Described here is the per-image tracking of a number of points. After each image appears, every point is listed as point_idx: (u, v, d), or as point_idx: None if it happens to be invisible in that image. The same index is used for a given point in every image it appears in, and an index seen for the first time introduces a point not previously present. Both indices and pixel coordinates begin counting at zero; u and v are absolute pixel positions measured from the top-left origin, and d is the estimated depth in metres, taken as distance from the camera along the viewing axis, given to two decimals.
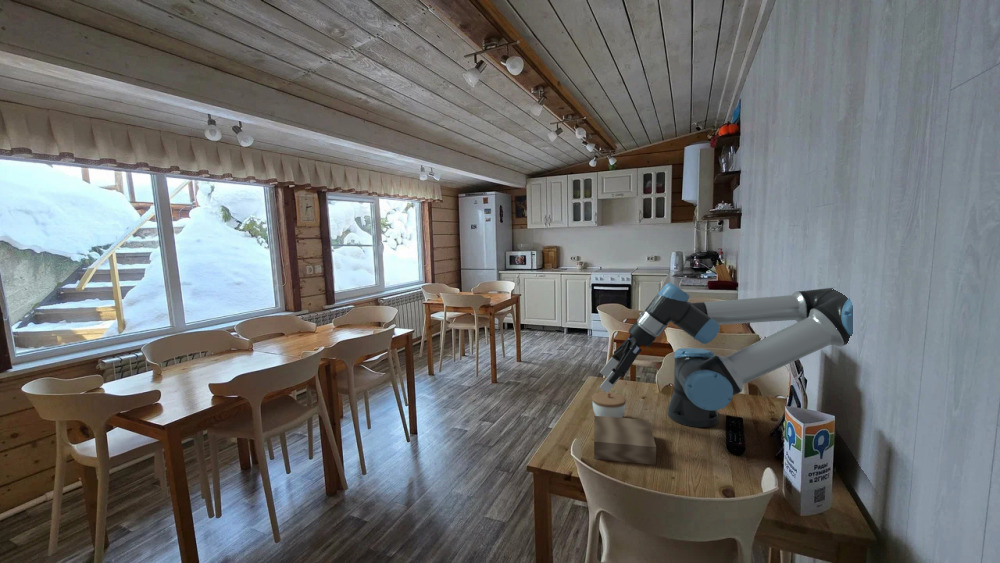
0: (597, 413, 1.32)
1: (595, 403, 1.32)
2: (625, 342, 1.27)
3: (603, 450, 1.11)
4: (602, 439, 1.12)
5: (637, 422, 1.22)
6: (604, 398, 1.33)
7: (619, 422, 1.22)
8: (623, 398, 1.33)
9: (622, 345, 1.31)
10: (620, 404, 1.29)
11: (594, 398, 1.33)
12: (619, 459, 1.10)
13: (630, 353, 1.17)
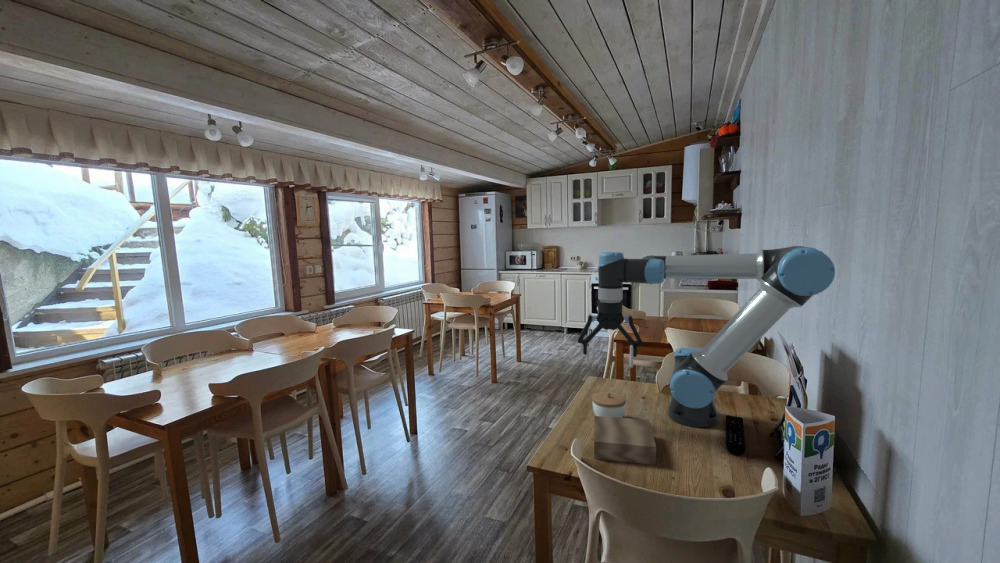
0: (597, 413, 1.32)
1: (595, 403, 1.32)
2: None
3: (603, 450, 1.11)
4: (602, 439, 1.12)
5: (637, 422, 1.22)
6: (604, 398, 1.33)
7: (619, 422, 1.22)
8: (623, 398, 1.33)
9: None
10: (620, 404, 1.29)
11: (594, 398, 1.33)
12: (619, 459, 1.10)
13: None
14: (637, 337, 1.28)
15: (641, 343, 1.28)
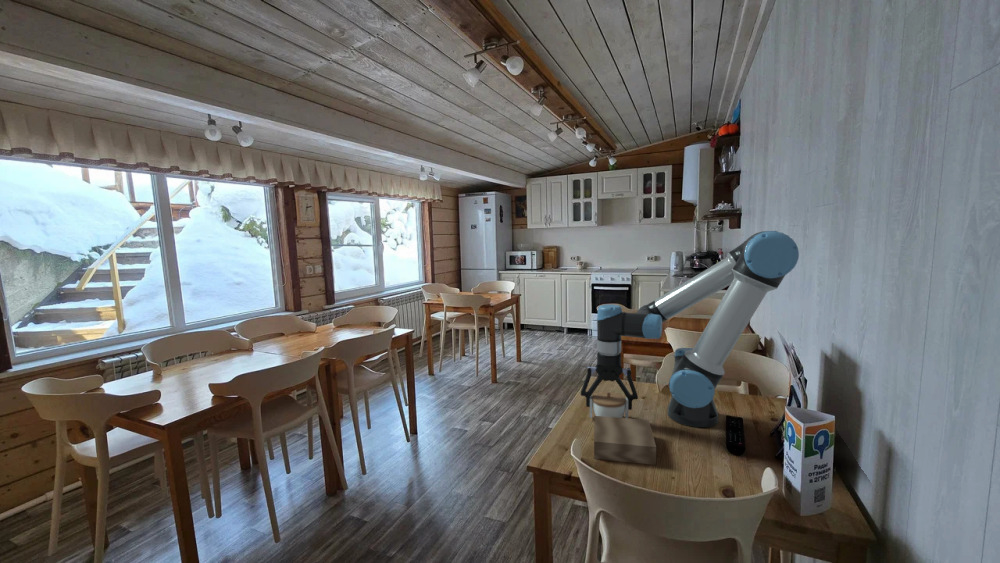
0: (597, 413, 1.32)
1: (595, 403, 1.31)
2: None
3: (603, 450, 1.11)
4: (602, 439, 1.12)
5: (637, 422, 1.22)
6: (604, 398, 1.33)
7: (619, 422, 1.22)
8: (623, 398, 1.33)
9: None
10: (620, 404, 1.29)
11: (594, 398, 1.33)
12: (619, 459, 1.10)
13: (587, 374, 1.35)
14: (633, 391, 1.30)
15: (636, 397, 1.30)
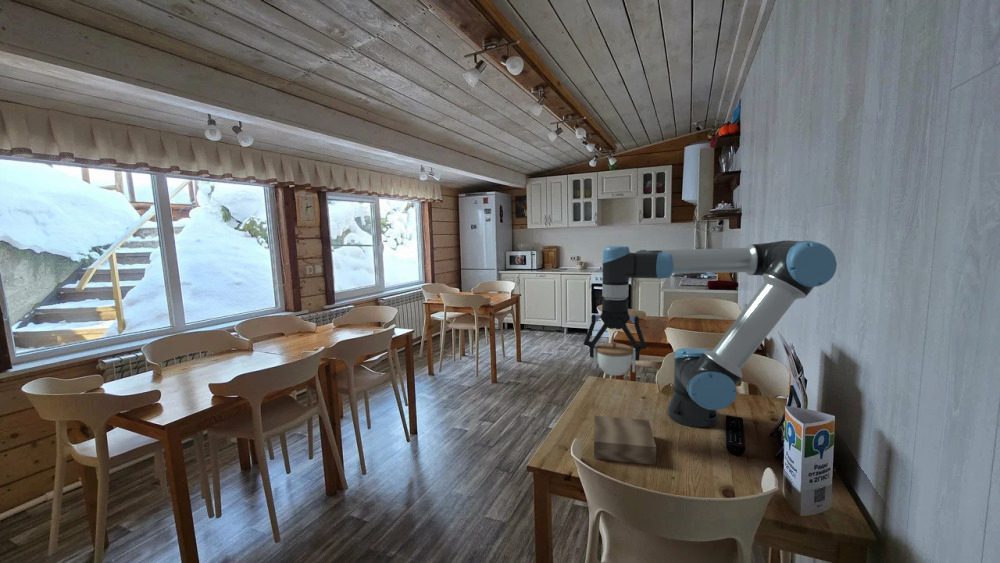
0: (601, 363, 1.22)
1: (599, 352, 1.22)
2: None
3: (603, 450, 1.11)
4: (602, 439, 1.12)
5: (637, 422, 1.22)
6: (609, 348, 1.23)
7: (619, 422, 1.22)
8: (630, 348, 1.22)
9: None
10: (626, 353, 1.19)
11: (598, 347, 1.23)
12: (619, 459, 1.10)
13: None
14: (641, 339, 1.20)
15: (644, 346, 1.20)
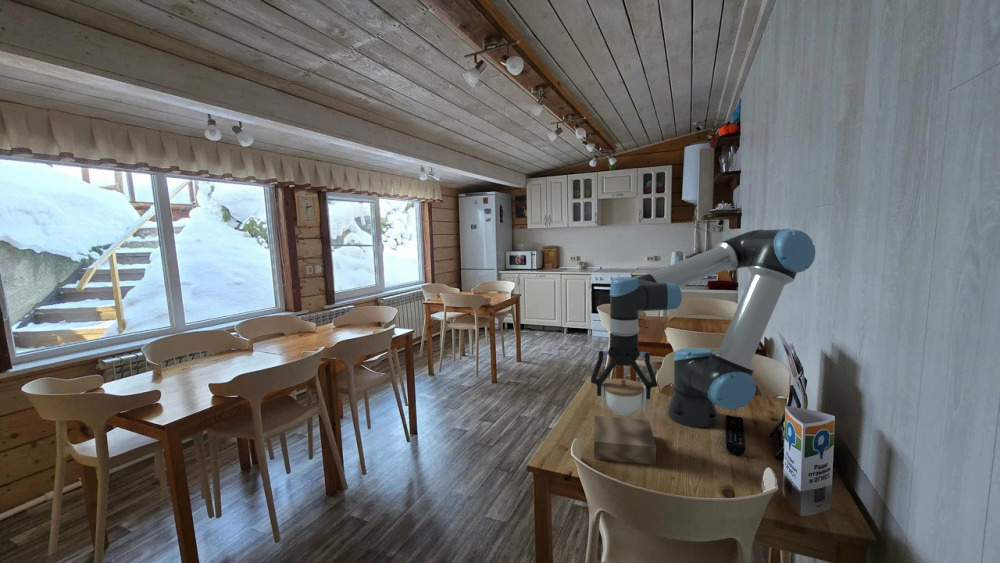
0: (610, 403, 1.14)
1: (608, 391, 1.14)
2: None
3: (603, 450, 1.11)
4: (602, 439, 1.12)
5: (637, 422, 1.22)
6: (618, 386, 1.15)
7: (619, 422, 1.22)
8: (640, 385, 1.15)
9: None
10: (637, 392, 1.11)
11: (606, 386, 1.15)
12: (619, 459, 1.10)
13: (598, 358, 1.17)
14: (652, 377, 1.12)
15: (655, 384, 1.12)
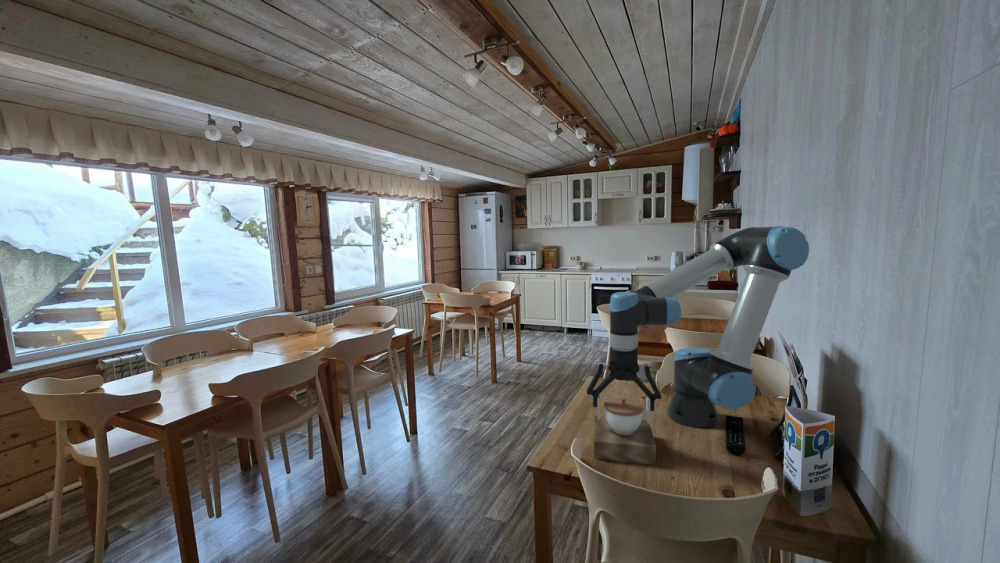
0: (610, 422, 1.14)
1: (608, 411, 1.14)
2: None
3: (603, 450, 1.11)
4: (602, 439, 1.12)
5: None
6: (618, 405, 1.15)
7: None
8: (640, 405, 1.15)
9: None
10: (637, 412, 1.12)
11: (607, 405, 1.16)
12: (619, 459, 1.10)
13: (597, 370, 1.18)
14: (655, 389, 1.13)
15: (659, 396, 1.12)
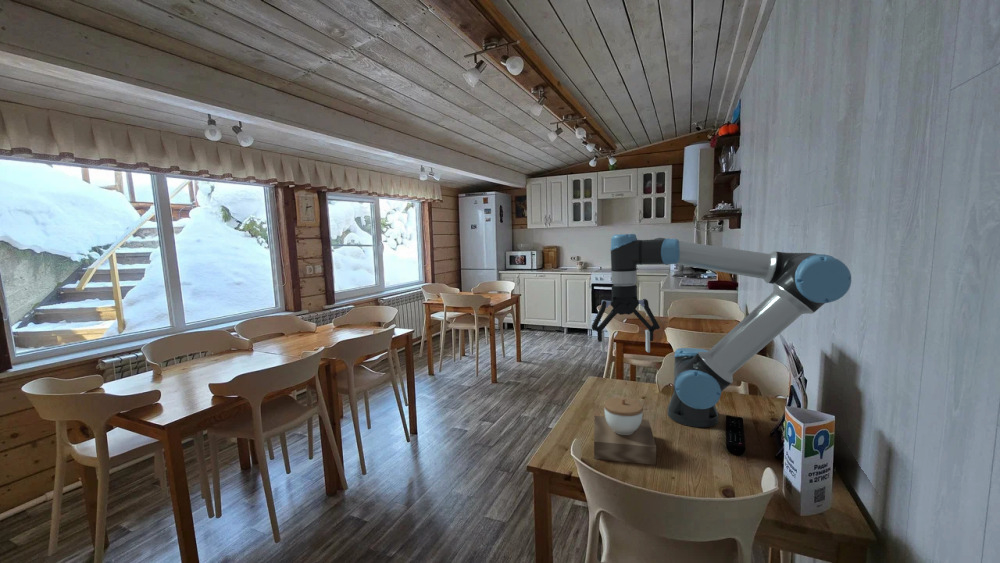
0: (610, 422, 1.14)
1: (608, 411, 1.14)
2: None
3: (603, 450, 1.11)
4: (602, 439, 1.12)
5: None
6: (618, 405, 1.15)
7: None
8: (640, 405, 1.15)
9: (647, 313, 1.26)
10: (637, 412, 1.12)
11: (606, 405, 1.16)
12: (619, 459, 1.10)
13: (600, 308, 1.28)
14: (653, 320, 1.24)
15: (658, 326, 1.24)
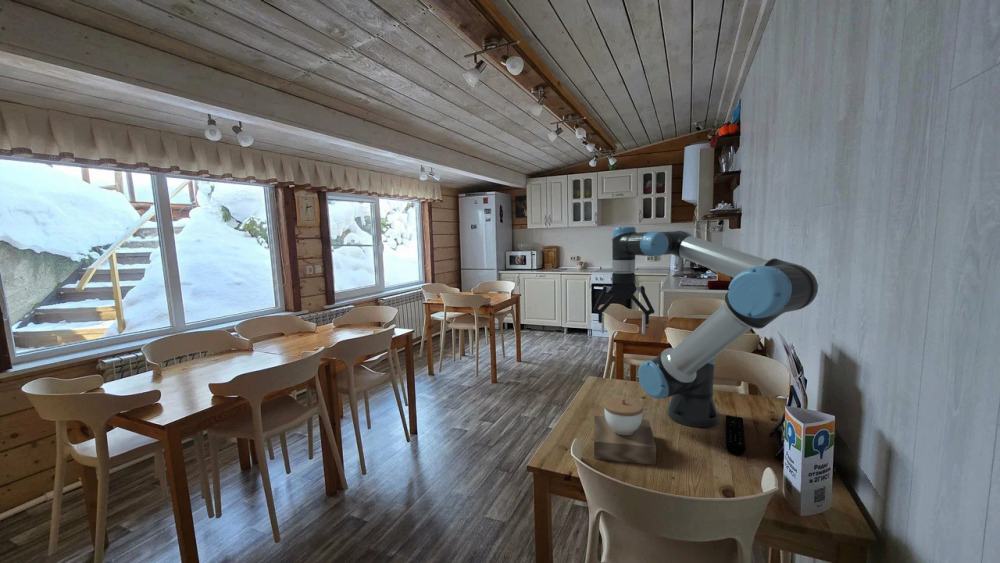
0: (610, 422, 1.14)
1: (608, 411, 1.14)
2: None
3: (603, 450, 1.11)
4: (602, 439, 1.12)
5: None
6: (618, 405, 1.15)
7: None
8: (640, 405, 1.15)
9: None
10: (637, 412, 1.12)
11: (606, 405, 1.16)
12: (619, 459, 1.10)
13: (601, 293, 1.43)
14: (649, 305, 1.38)
15: (653, 311, 1.37)
